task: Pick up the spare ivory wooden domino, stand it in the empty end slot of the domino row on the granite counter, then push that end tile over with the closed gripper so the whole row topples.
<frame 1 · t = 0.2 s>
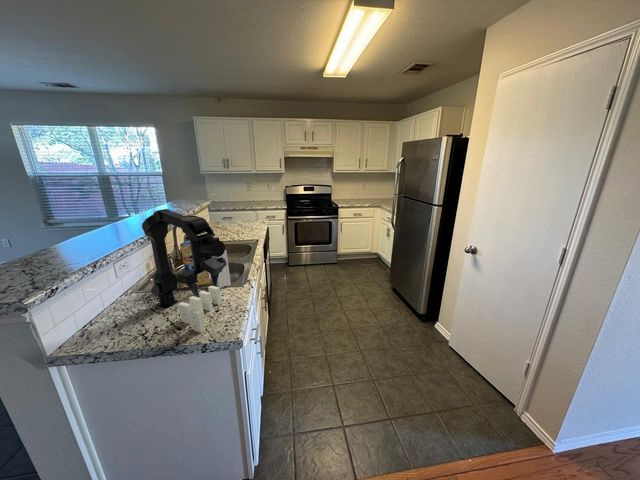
hand: (206, 290, 99), 14 cm above the countertop, fingers open, 9 cm apart
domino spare: (198, 329, 98), on the countertop
milk: (223, 285, 133), on the countertop
domino 4: (207, 308, 111), on the countertop
domino 5: (216, 303, 116), on the countertop
domino 2: (187, 321, 103), on the countertop
domino 3: (198, 315, 107), on the countertop
blue cardboard box: (200, 282, 136), on the countertop
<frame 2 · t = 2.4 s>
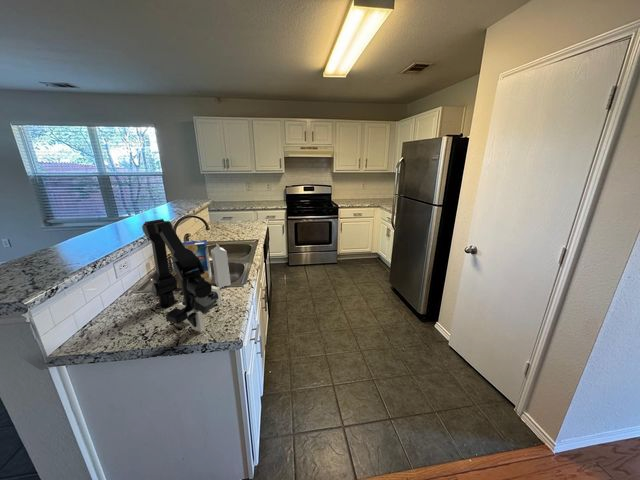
hand: (197, 325, 97), 2 cm above the countertop, fingers closed on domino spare, 2 cm apart
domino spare: (198, 329, 98), on the countertop, touching gripper
everything else where it was.
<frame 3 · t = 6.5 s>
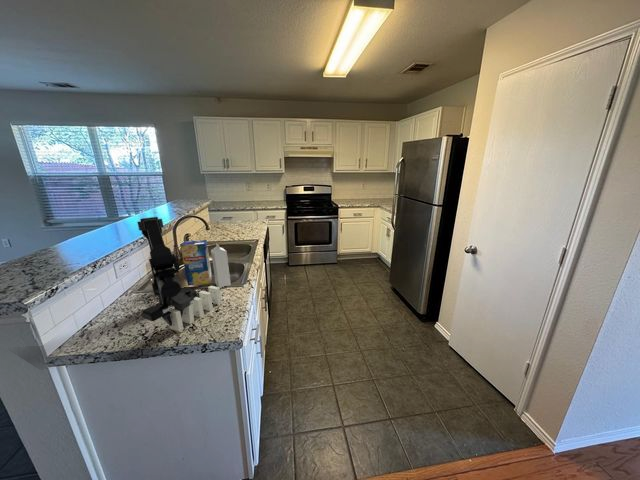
hand: (175, 322, 97), 3 cm above the countertop, fingers open, 4 cm apart
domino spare: (176, 328, 98), on the countertop
domino 2: (187, 321, 103), on the countertop, tilted 5°, touching gripper
everything else where it was.
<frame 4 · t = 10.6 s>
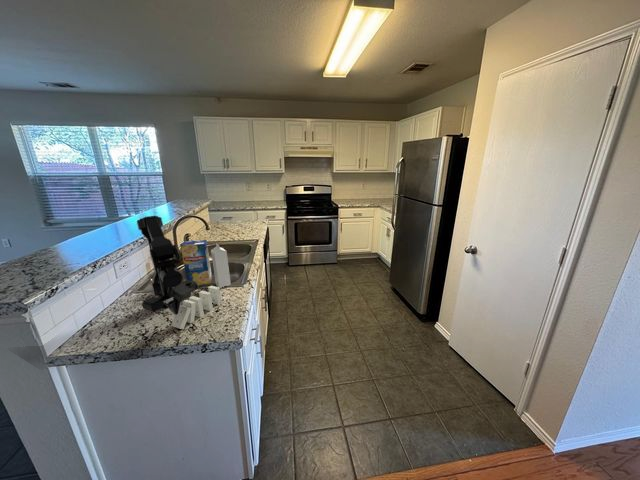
hand: (176, 314, 97), 6 cm above the countertop, fingers closed
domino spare: (177, 327, 98), point 1 cm above the countertop, tilted 37°
domino 2: (187, 321, 103), on the countertop, tilted 16°
everything else where it was.
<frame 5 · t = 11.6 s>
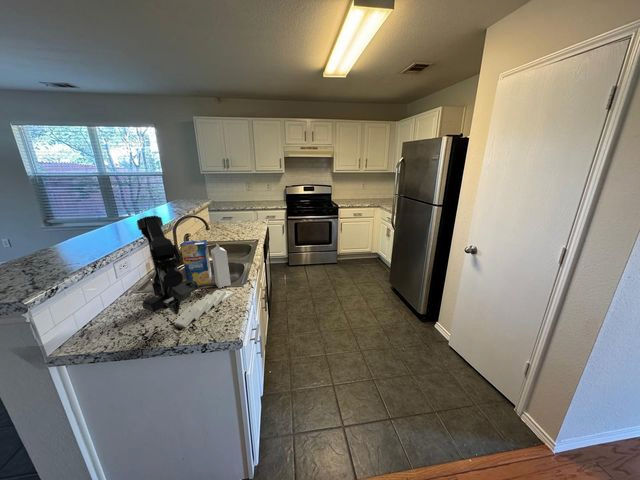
hand: (176, 314, 97), 6 cm above the countertop, fingers closed
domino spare: (180, 324, 99), point 1 cm above the countertop, tilted 69°, touching domino 2
domino 4: (210, 304, 113), point 1 cm above the countertop, tilted 73°, touching domino 3, domino 5
domino 5: (218, 301, 117), on the countertop, tilted 90°, touching domino 4
domino 2: (191, 317, 104), point 1 cm above the countertop, tilted 68°, touching domino 3, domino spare
domino 3: (201, 310, 108), point 1 cm above the countertop, tilted 68°, touching domino 2, domino 4
everything else where it was.
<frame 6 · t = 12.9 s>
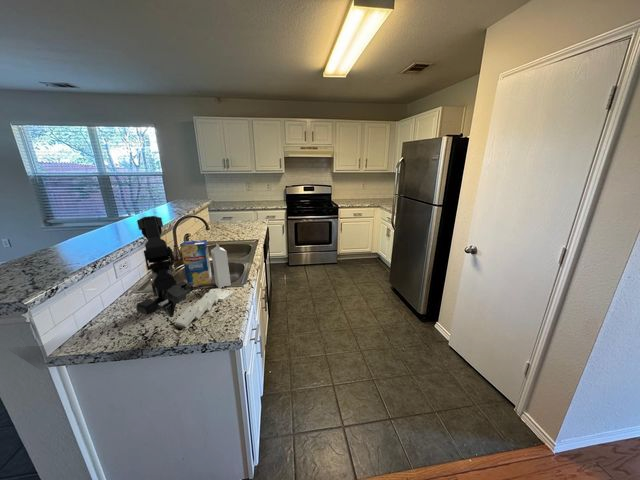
hand: (171, 316, 95), 6 cm above the countertop, fingers closed
domino 4: (210, 302, 114), point 1 cm above the countertop, tilted 77°, touching domino 3, domino 5
domino 5: (219, 300, 118), on the countertop, tilted 90°, touching domino 4
domino 3: (203, 309, 109), point 1 cm above the countertop, tilted 68°, touching domino 2, domino 4
everything else where it was.
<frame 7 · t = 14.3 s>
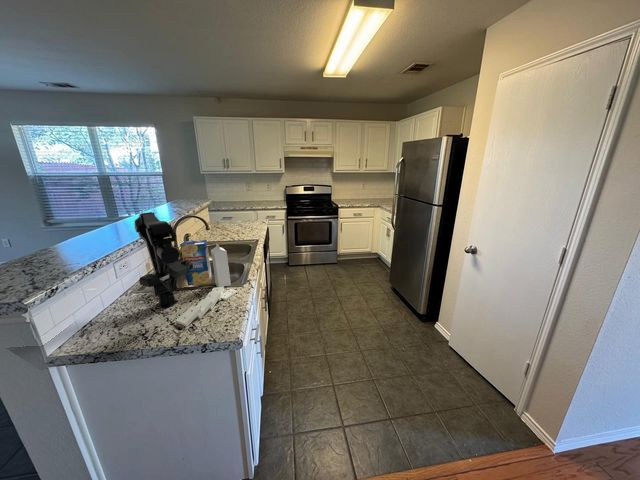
hand: (172, 292, 101), 12 cm above the countertop, fingers closed
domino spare: (181, 323, 100), point 1 cm above the countertop, tilted 72°
domino 4: (214, 300, 116), point 1 cm above the countertop, tilted 79°, touching domino 3
domino 5: (221, 299, 119), on the countertop, tilted 90°
domino 2: (194, 315, 105), point 1 cm above the countertop, tilted 71°, touching domino 3
domino 3: (205, 307, 110), point 1 cm above the countertop, tilted 70°, touching domino 2, domino 4
everything else where it was.
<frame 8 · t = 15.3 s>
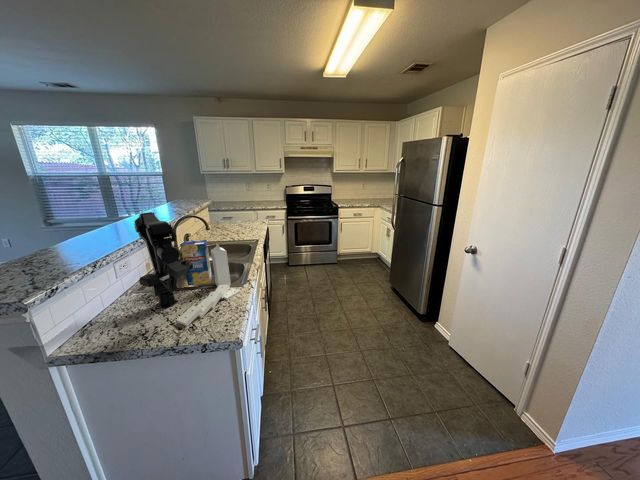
hand: (172, 292, 101), 12 cm above the countertop, fingers closed
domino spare: (181, 323, 100), point 1 cm above the countertop, tilted 73°, touching domino 2
domino 4: (217, 297, 118), point 1 cm above the countertop, tilted 77°, touching domino 5
domino 5: (223, 298, 119), on the countertop, tilted 90°, touching domino 4
domino 2: (196, 315, 105), point 1 cm above the countertop, tilted 72°, touching domino 3, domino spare
domino 3: (207, 306, 111), point 1 cm above the countertop, tilted 72°, touching domino 2
everything else where it was.
at the end: domino 5 tilted 90°; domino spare tilted 73°; domino 5 inside the target area (1.8 cm from its centre), on the countertop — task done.
